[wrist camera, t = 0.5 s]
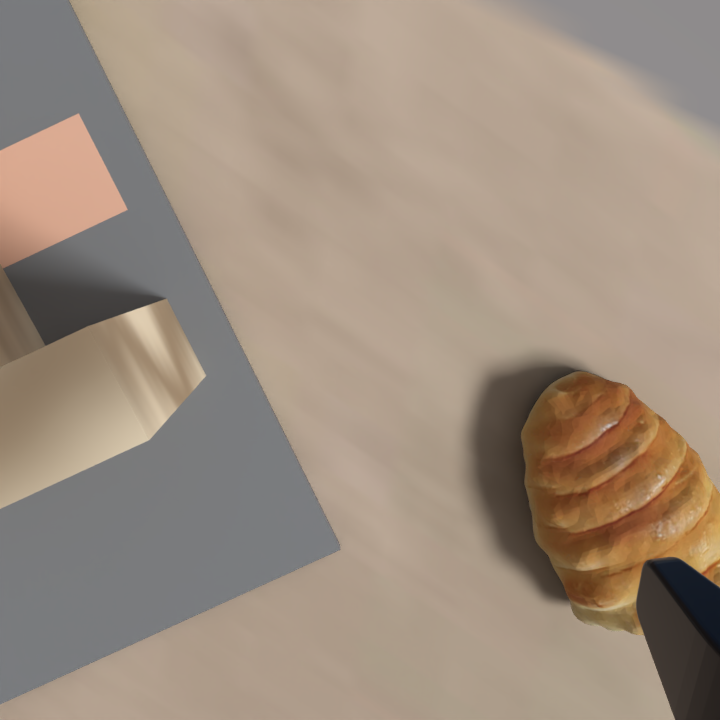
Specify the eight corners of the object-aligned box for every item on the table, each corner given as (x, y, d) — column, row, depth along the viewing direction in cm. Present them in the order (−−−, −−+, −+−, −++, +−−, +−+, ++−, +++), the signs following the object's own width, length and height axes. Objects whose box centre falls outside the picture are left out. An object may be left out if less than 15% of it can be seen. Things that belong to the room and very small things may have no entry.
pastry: (467, 420, 26) (493, 450, 22) (626, 332, 25) (680, 347, 22) (574, 619, 27) (616, 679, 23) (725, 538, 27) (791, 585, 23)
